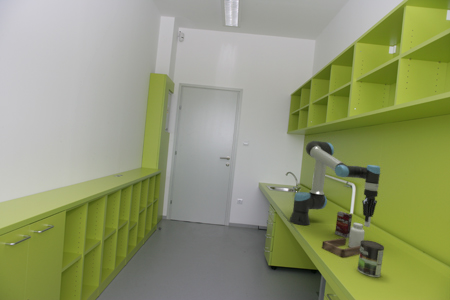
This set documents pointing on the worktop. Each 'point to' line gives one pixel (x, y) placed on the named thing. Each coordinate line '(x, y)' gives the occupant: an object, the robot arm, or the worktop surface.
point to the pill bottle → (356, 235)
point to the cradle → (332, 247)
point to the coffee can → (370, 258)
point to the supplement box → (343, 224)
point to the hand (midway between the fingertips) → (366, 226)
